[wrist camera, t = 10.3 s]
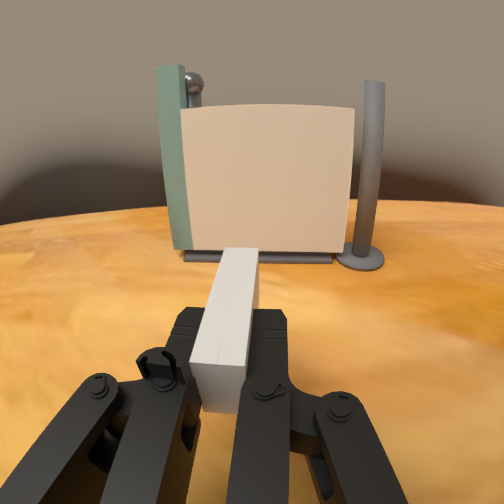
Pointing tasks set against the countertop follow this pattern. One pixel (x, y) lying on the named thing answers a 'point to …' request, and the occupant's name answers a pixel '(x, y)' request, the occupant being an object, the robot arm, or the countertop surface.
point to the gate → (266, 171)
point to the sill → (302, 257)
